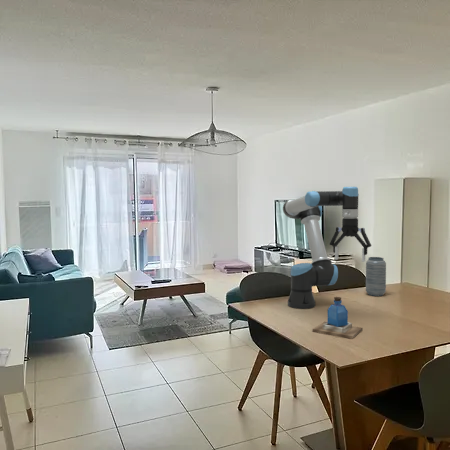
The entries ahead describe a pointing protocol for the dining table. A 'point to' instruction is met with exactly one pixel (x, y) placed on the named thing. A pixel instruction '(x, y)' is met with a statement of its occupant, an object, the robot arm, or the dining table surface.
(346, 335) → the brown board with frame
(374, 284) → the vase
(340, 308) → the perfume bottle
